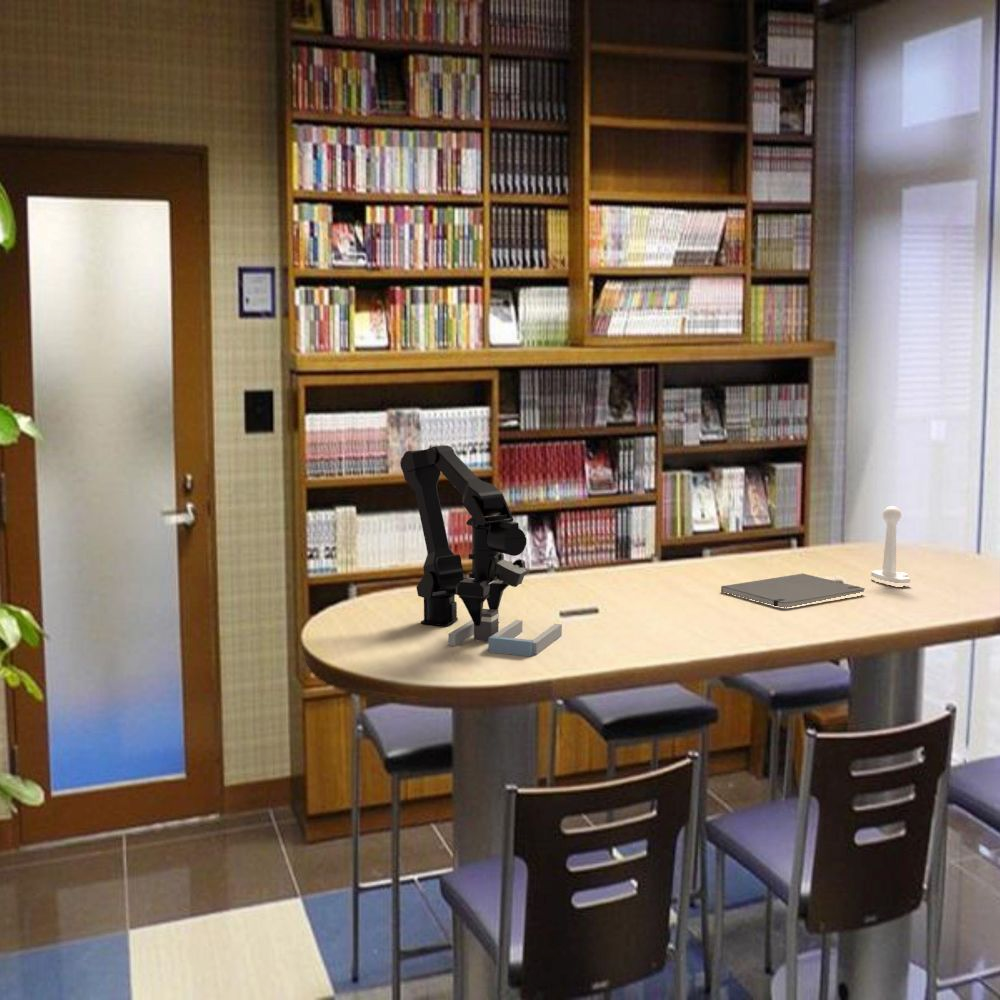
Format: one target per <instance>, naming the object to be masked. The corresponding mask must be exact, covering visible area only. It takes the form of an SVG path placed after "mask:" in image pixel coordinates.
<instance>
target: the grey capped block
mask: <svg viewBox="0 0 1000 1000" xmlns="http://www.w3.org/2000/svg"><path fill="white" fill-rule="evenodd" d="M499 618H500V617H499V609H498V610H493V609H489V608H483V610H482V618H481V624H480V626H475V624H474V635H473V641H477V640H479V642H487V641H488V638H489V637H491V636H492V635H494V634H495V633H497V632H498V631H499Z"/></svg>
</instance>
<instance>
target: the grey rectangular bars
mask: <svg viewBox="0 0 1000 1000" xmlns="http://www.w3.org/2000/svg"><path fill="white" fill-rule="evenodd" d="M562 631H563V625H562V623H554V624H552V625H551V626H550V627H549V628H547V629H545V630H544V631H543V632H542V633H540V634H539V635H537V636H536V637H534V638H533V639H526V638H516V637H517V636H519V635H520V634H521V633H523V620H520V619H516V620H514V621H512V622H511V623H509V624H507V625H505V626H504V627H503V628H502V629H500V630H498V632H497V633H495V634H494V635H492V636H491V637H489V638H488V644H487V645H488V647H487V648H488V652H489V653H495V654H505V655H515V656H524V657H531V656H533V655H536V656H537V655H538V654H540V653H541V652H542V651H543V650H545V649H546V648H547V647H548V646H550V645H551V644H553V643H554V642H555V641H557V640H558V639H560V638H561V637H562V636H563V634H562V633H563V632H562ZM473 636H474V622H473V620H472V619H470V620H469V621H467V622H466V623H464V624H461V626H459V627H457V628H455V629H453V631H451V632H450V633H448V637H447V638H448V642H447V643H448V645H451V647H456V646H458V645H460V644H461V643H462V642H464V641H465V640H467V639H469V638H471V637H473Z"/></svg>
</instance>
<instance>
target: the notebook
mask: <svg viewBox="0 0 1000 1000" xmlns="http://www.w3.org/2000/svg"><path fill="white" fill-rule="evenodd" d="M720 587H721V588H720V589H721V590H720V591H721V592H726V593H729V594H733V595H736V596H740V597H744V598H747V599H752V600H755V601H759V602H763V603H767V604H771V605H774V606H779V607H784V608H785V607H786V608H787V607H792V606H797V605H802V604H807V603H812V602H816V601H822V600H826V599H831V598H836V597H841V596H846V595H850V594H856V593H860V592H865V590H866V588H865V587H861V586H857V585H852V584H848V583H844V582H841V581H840V582H839V581H837V580H836V581H835V580H831V579H827V578H823V577H819V576H814V575H810V574H806V573H798V574H792V575H784V576H777V577H772V578H765V579H759V580H753V581H747V582H739V583H733V584H727V585H722V586H720ZM721 592H720V593H721ZM729 594H728V595H729ZM736 596H735V597H736ZM740 597H739V598H740ZM747 599H746V600H747Z"/></svg>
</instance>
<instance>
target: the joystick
mask: <svg viewBox="0 0 1000 1000" xmlns="http://www.w3.org/2000/svg"><path fill="white" fill-rule="evenodd" d="M882 518H883V519H884V521H885V523H886V529H885V542H884V550H883V559H882V560H883V561H882V569H877V570H871V572H870V577H871V576H873V577H875V578H877V579H880V580H884V581H889V582H894V583H909V582H910V583H911V579H912V578H911V577H908V575H909V574H908V573H906V572H899V571H897V525H898V522H899V521H900V520H901V518H902V511H901V509H900V508H898V507H897V506H894V505H890V506H887V507H886V508H884V510H883V512H882Z"/></svg>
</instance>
